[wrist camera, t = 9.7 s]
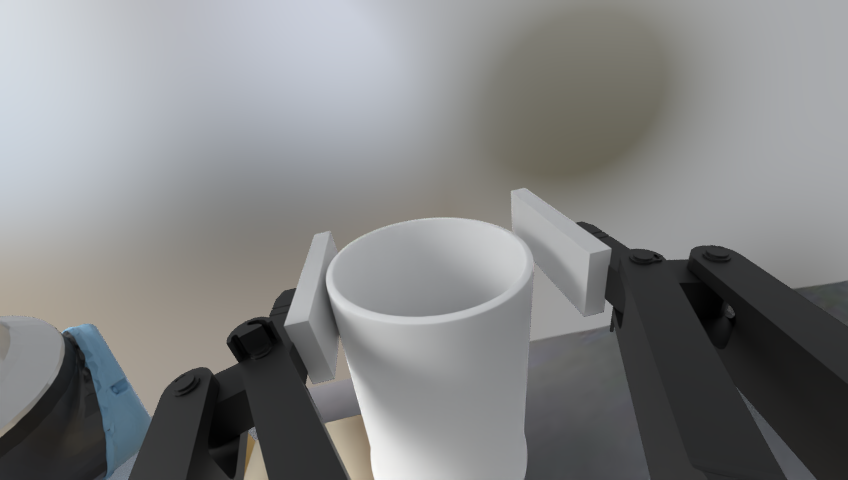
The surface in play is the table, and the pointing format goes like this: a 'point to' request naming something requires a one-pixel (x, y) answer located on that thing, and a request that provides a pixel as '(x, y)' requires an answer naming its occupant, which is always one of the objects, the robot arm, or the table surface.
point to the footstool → (348, 443)
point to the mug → (438, 346)
